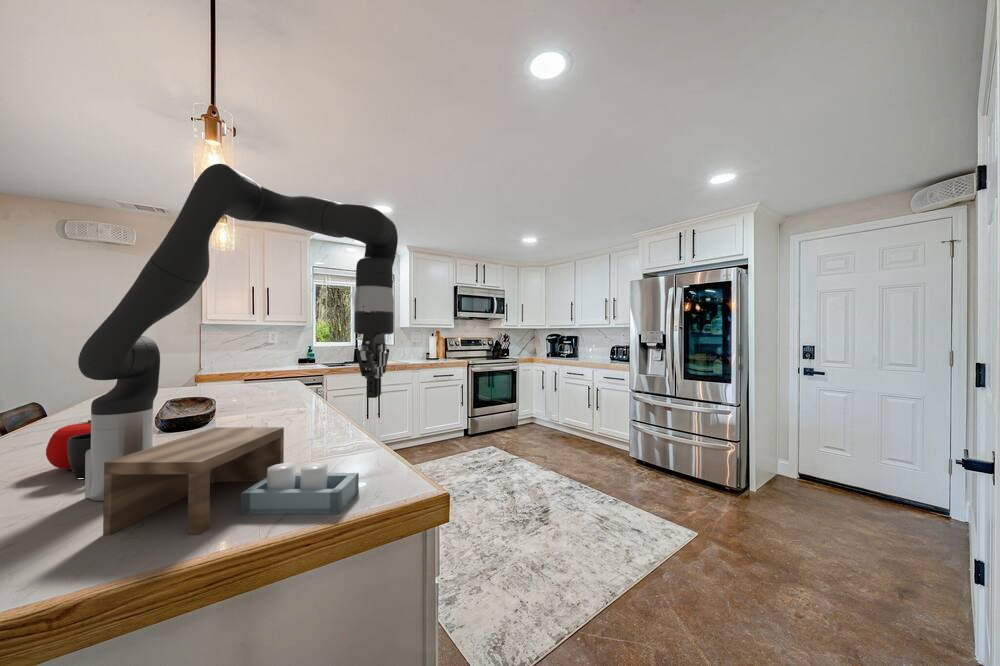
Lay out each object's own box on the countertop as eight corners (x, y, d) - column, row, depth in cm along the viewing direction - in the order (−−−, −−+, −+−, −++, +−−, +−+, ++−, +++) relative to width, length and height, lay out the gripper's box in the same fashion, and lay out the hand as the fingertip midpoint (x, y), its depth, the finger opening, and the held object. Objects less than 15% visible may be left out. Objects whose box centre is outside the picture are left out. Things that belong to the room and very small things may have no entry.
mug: (82, 487, 81) (82, 443, 81) (60, 478, 86) (61, 437, 86) (132, 474, 88) (132, 434, 88) (109, 467, 93) (110, 429, 93)
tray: (241, 514, 68) (241, 476, 68) (273, 491, 78) (274, 458, 78) (338, 514, 69) (338, 476, 69) (358, 491, 79) (358, 458, 79)
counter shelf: (103, 534, 61) (104, 462, 61) (213, 479, 85) (214, 427, 85) (200, 534, 61) (200, 462, 61) (283, 479, 85) (283, 427, 85)
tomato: (27, 477, 86) (28, 427, 86) (83, 458, 100) (84, 415, 100) (90, 474, 88) (91, 426, 88) (137, 456, 101) (138, 414, 102)
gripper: (367, 312, 81) (366, 392, 81) (341, 307, 67) (340, 402, 67) (401, 313, 81) (401, 392, 81) (382, 307, 67) (382, 402, 67)
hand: (373, 396), depth 74 cm, fingers closed
